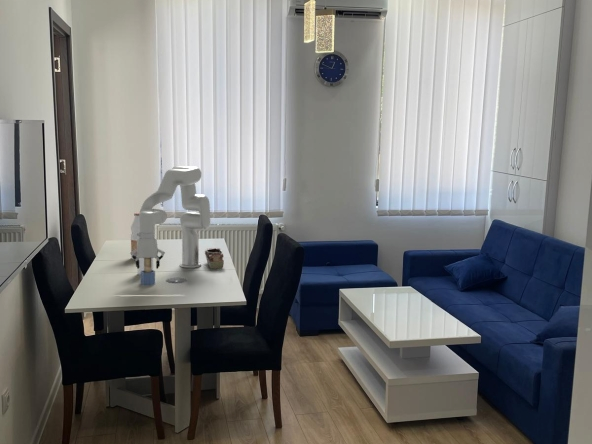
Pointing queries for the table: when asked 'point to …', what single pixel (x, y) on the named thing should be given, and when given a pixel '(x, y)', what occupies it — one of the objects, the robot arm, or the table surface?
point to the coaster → (176, 280)
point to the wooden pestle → (147, 265)
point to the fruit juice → (135, 233)
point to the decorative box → (214, 258)
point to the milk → (141, 263)
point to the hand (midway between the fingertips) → (147, 268)
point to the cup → (147, 278)
